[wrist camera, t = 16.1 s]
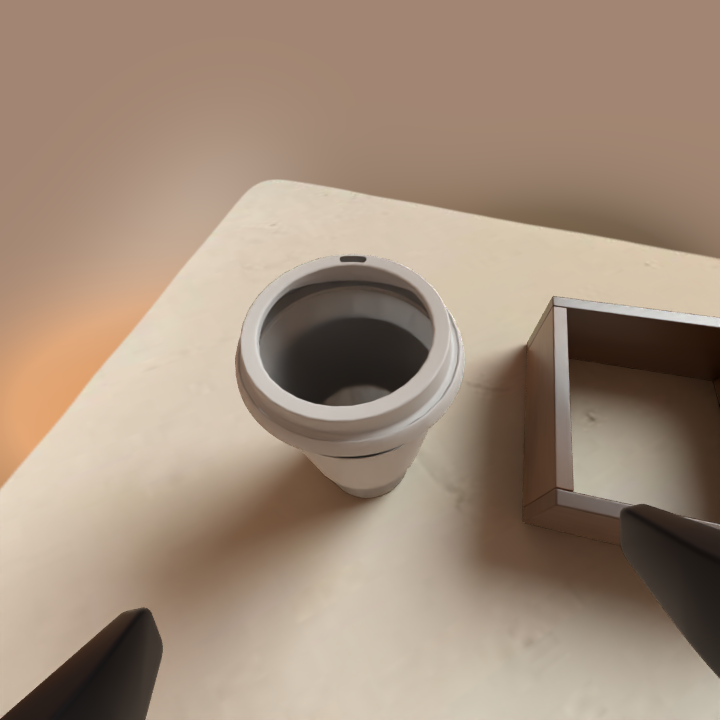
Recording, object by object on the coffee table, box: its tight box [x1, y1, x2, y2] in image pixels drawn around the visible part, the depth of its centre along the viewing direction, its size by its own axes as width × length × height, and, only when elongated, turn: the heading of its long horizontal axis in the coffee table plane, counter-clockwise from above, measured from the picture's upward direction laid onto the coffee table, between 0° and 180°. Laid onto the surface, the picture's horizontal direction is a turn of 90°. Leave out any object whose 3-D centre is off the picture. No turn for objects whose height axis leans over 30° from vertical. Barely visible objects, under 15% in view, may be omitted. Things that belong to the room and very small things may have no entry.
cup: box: [235, 254, 465, 498], centre depth 16 cm, size 7×7×12 cm
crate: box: [522, 296, 720, 546], centre depth 18 cm, size 11×11×4 cm
